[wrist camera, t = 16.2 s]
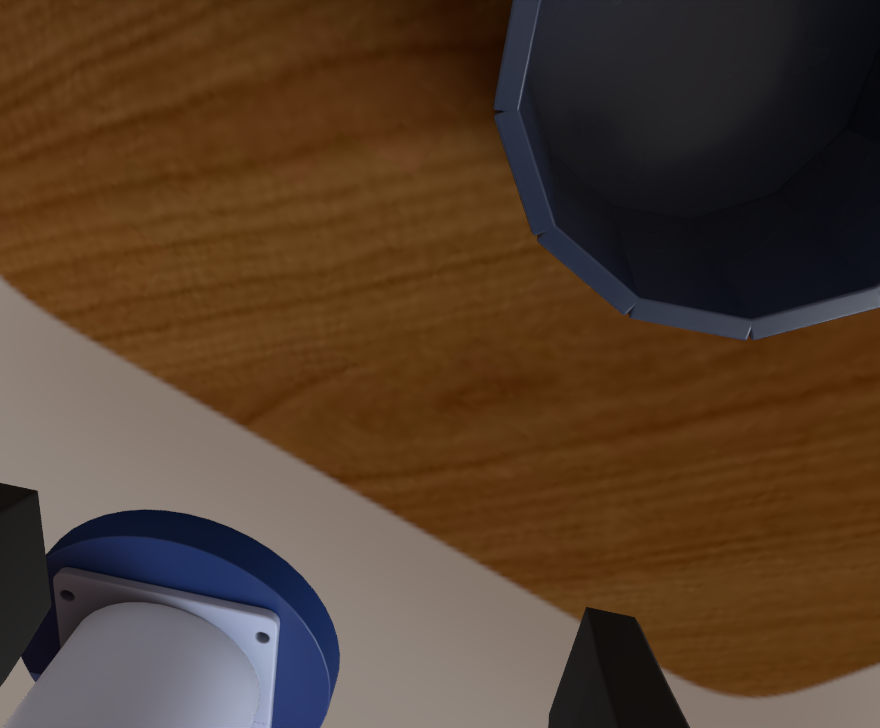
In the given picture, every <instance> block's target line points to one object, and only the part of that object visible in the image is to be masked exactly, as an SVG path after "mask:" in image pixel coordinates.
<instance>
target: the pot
mask: <svg viewBox="0 0 880 728" xmlns="http://www.w3.org/2000/svg"><path fill="white" fill-rule="evenodd" d="M493 109H495V110H496V111H495V114H494V120H495V123H496V126H497V129H498V132H499V135H500V138H501V141H502V144H503V147H504V150H505V153H506V156H507V159H508V162H509V165H510V168H511V171H512V174H513V177H514V180H515V183H516V186H517V189H518V192H519V196H520V199H521V202H522V205H523V208H524V211H525V214H526V217H527V220H528V223H529V226H530V229H531V232H532V234H533V235H537V241H538V243H540V244H541V245H542V246H543V247H544V248H545V249H547V250H548V251H549V252H550V253H551V254H552V255H554V256H555V257H556V258H557V259H558V260H559V261H561V262H562V263H563V264H564V265H565V266H566V267H568V268H569V269H570V270H571V271H572V272H573V273H575V274H576V275H577V276H578V277H579V278H580V279H582V280H583V281H584V282H585V283H586V284H587V285H589V286H590V287H591V288H592V289H593V290H594V291H596V292H597V293H598V294H599V295H600V296H601V297H603V298H604V299H605V300H606V301H607V302H608V303H610V304H611V305H612V306H613V307H614V308H615V309H617V310H618V311H619V312H620V313H621V314H623V315H625V314H627V313H628V314H629V317H630V318H632V319H637V320H642V321H647V322H652V323H657V324H663V325H668V326H673V327H678V328H683V329H688V330H693V331H699V332H704V333H709V334H714V335H719V336H724V337H729V338H734V339H740V340H747V338H748V336H750V338H751V339H752V340H757V339H761V338H765V337H768V336H772V335H776V334H780V333H784V332H788V331H792V330H795V329H799V328H803V327H807V326H811V325H815V324H819V323H822V322H826V321H830V320H834V319H838V318H842V317H845V316H849V315H853V314H857V313H861V312H865V311H869V310H872V309H876V308H880V0H512V5H511V11H510V16H509V21H508V27H507V32H506V38H505V43H504V49H503V54H502V60H501V65H500V70H499V76H498V81H497V87H496V92H495V98H494V103H493Z"/></svg>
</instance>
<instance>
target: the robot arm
mask: <svg viewBox="0 0 880 728" xmlns="http://www.w3.org/2000/svg"><path fill="white" fill-rule="evenodd" d="M53 585H54V594H55V603H56V612H57V621H58V629H59V638H60V647H61V649H60V651H59V652H58V653H57V655H56V656H55V657H54V659H53V660H52V661H51V663H50V664H49V665H48V667H47V668H46V670H45V671H44V672H43V674H42V675H41V676H40V678H39V679H38V680H37V682H36V683H35V684H34V686H33V687H32V688H31V690H30V691H29V692H28V694H27V695H26V696H25V698H24V699H23V701H22V702H21V703H20V704H19V706H18V707H17V708H16V710H15V711H14V712H13V714H12V715H11V716H10V718H9V719H8V720H7V722H6V723H5V725H4V726H3V727H2V728H272V716H273V704H274V692H275V680H276V668H277V655H278V643H279V631H280V619H279V617H278V616H277V614H276V613H274V612H273V611H271V610H268V609H264V608H260V607H255V606H250V605H246V604H241V603H236V602H231V601H227V600H222V599H217V598H213V597H208V596H203V595H199V594H194V593H189V592H184V591H180V590H175V589H170V588H166V587H161V586H156V585H152V584H147V583H142V582H138V581H133V580H128V579H123V578H119V577H114V576H109V575H105V574H100V573H95V572H91V571H86V570H81V569H76V568H72V567H65V568H61V570H60V571H59V572H58V573H57V574H56V575H55V576H54V579H53ZM51 606H52V604H51V596H50V588H49V579H48V571H47V563H46V555H45V547H44V539H43V531H42V522H41V515H40V506H39V498H38V491H36V490H31V489H27V488H22V487H17V486H12V485H8V484H3V483H0V686H1V685H2V684H3V682H4V681H5V680H6V678H7V677H8V675H9V674H10V672H11V671H12V669H13V667H14V666H15V665H16V663H17V661H18V660H19V658H20V657H21V655H22V654H23V652H24V651H25V649H26V647H27V646H28V644H29V643H30V641H31V639H32V638H33V636H34V634H35V633H36V631H37V629H38V628H39V626H40V624H41V623H42V621H43V619H44V618H45V616H46V614H47V613H48V611H49V609H50V608H51ZM262 632H263V633H262ZM264 633H266V634H264ZM548 728H690V727H689V725H688V723H687V721H686V719H685V717H684V715H683V713H682V711H681V709H680V707H679V705H678V703H677V701H676V699H675V697H674V695H673V693H672V691H671V689H670V687H669V685H668V683H667V681H666V679H665V677H664V675H663V673H662V671H661V669H660V667H659V665H658V662H657V660H656V658H655V656H654V654H653V652H652V650H651V648H650V646H649V644H648V641H647V639H646V637H645V635H644V633H643V631H642V629H641V627H640V625H639V623H638V622H637V620H636V619H635V617H631V616H626V615H621V614H617V613H612V612H607V611H603V610H598V609H593V608H588V607H586V609H585V612H584V615H583V618H582V621H581V624H580V627H579V630H578V632H577V635H576V638H575V641H574V644H573V647H572V650H571V652H570V656H569V658H568V661H567V664H566V667H565V670H564V673H563V676H562V678H561V681H560V684H559V687H558V690H557V693H556V696H555V698H554V701H553V704H552V707H551V710H550V713H549V726H548Z"/></svg>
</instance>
